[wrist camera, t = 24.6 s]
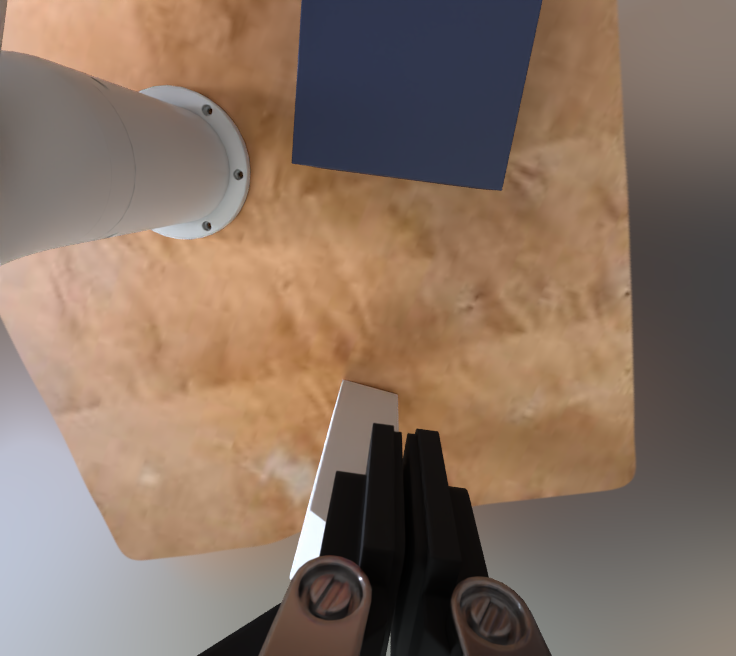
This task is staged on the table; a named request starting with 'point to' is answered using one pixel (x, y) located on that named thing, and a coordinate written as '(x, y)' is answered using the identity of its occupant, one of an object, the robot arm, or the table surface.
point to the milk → (343, 455)
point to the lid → (412, 87)
